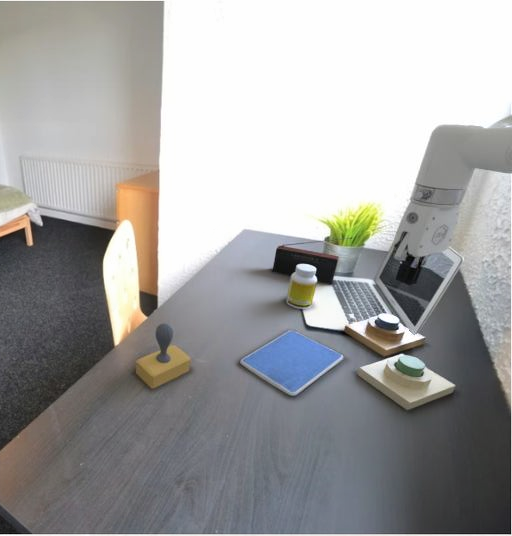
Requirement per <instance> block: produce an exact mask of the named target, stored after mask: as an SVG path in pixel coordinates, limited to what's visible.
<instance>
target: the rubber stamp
mask: <svg viewBox="0 0 512 536" xmlns="http://www.w3.org/2000/svg"><path fill="white" fill-rule="evenodd" d="M173 337H174V330H173V327H172V326H171V325H170V324H168V323H165V322H163V323H160V324H158V325H157V327H156V330H155V338H156V342H157V344H158V346H159V350H157V351H155V352H152V353H150V354H148V355H145V356H143V357H141V358H138V359H137V360H136V361H135V374H136V375H137V376H138V377H139V378H140V379H141V380H142V381H143V382H144V383H145V384H146V385H147V386H148V387H149V388H150V389H155V388H157V387H159V386H161V385H164V384H165V383H168V382H170V381H172V380H174V379H176V378H177V377H180V376H182V375H183V374H186V373H188V372H190V365H191V357H190V356H189V355H187V354H186V353H185V352H184V351H183V350H181V349H180V348H179V347H178V346H176V345H175V344H171V343H172V341H173Z"/></svg>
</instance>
